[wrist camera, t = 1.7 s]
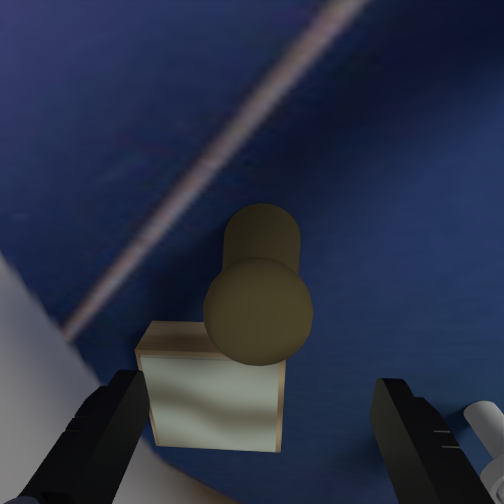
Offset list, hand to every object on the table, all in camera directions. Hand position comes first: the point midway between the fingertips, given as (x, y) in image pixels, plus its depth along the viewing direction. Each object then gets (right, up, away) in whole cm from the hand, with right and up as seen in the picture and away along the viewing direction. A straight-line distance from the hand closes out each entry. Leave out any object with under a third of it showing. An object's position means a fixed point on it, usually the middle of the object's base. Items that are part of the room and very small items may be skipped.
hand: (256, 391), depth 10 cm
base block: (-3, -7, +18) cm, 20 cm away
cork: (+1, +6, +12) cm, 14 cm away
